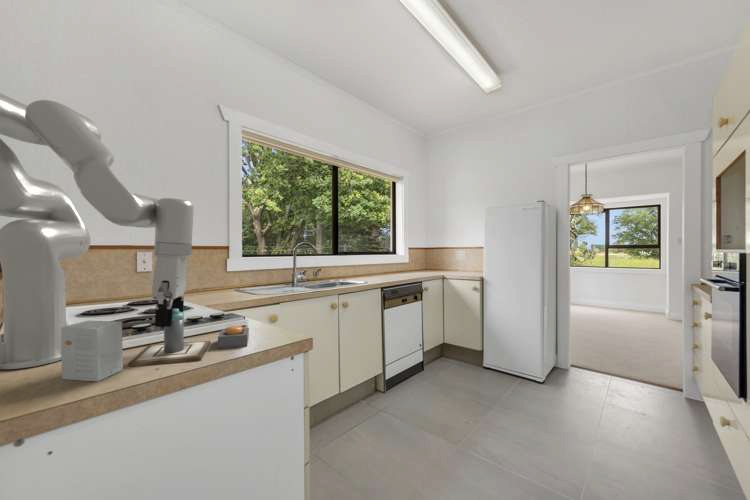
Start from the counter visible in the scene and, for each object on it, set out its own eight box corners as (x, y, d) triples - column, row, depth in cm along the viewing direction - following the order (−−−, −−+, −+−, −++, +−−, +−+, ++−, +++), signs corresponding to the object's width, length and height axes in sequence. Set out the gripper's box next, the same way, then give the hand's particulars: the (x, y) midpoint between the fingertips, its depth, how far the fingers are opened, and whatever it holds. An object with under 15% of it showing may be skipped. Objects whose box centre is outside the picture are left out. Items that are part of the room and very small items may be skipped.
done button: (225, 337, 82) (225, 330, 82) (227, 333, 86) (227, 326, 86) (241, 336, 84) (241, 329, 84) (242, 332, 87) (242, 325, 87)
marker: (161, 353, 73) (161, 311, 73) (166, 348, 77) (167, 308, 77) (181, 352, 75) (181, 310, 74) (185, 346, 79) (185, 307, 78)
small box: (123, 370, 66) (123, 321, 66) (97, 382, 60) (97, 328, 60) (89, 368, 67) (89, 319, 66) (60, 379, 61) (60, 326, 61)
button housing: (217, 348, 80) (217, 336, 80) (221, 340, 87) (221, 329, 87) (247, 346, 83) (247, 335, 83) (248, 338, 89) (248, 327, 89)
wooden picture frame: (128, 366, 68) (128, 362, 68) (148, 348, 79) (148, 344, 79) (200, 360, 73) (200, 356, 73) (210, 343, 84) (210, 340, 84)
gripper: (166, 248, 82) (163, 312, 83) (140, 251, 66) (137, 331, 66) (198, 249, 85) (195, 312, 85) (181, 253, 68) (177, 330, 69)
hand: (170, 320), depth 76 cm, fingers open, 9 cm apart
